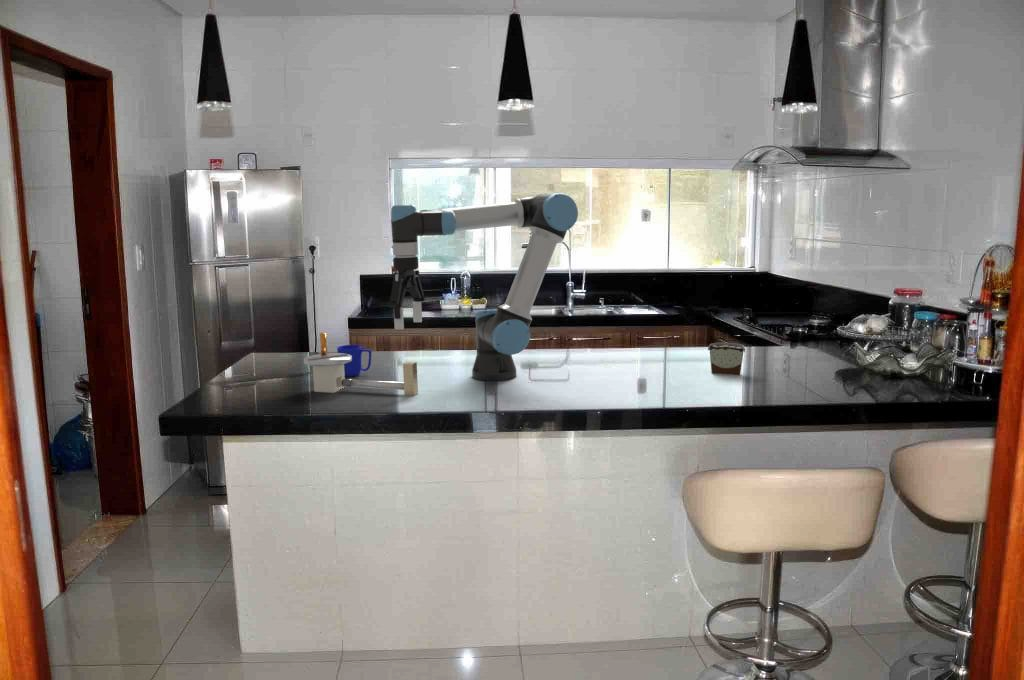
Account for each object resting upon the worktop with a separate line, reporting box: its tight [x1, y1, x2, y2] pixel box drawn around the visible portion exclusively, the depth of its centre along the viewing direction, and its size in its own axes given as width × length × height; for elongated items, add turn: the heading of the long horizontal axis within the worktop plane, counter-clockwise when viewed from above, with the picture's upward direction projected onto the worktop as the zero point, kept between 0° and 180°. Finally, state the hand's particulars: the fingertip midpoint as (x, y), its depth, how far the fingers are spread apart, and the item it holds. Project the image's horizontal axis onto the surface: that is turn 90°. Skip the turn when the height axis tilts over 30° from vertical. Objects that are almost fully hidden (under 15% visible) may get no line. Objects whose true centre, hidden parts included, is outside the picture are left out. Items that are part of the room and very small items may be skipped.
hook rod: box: [342, 361, 419, 397], centre depth 247 cm, size 25×3×10 cm, turn 73°
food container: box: [707, 342, 746, 377], centre depth 264 cm, size 12×6×10 cm, turn 65°
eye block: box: [312, 364, 346, 394], centre depth 252 cm, size 7×7×9 cm
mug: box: [336, 344, 372, 377], centre depth 272 cm, size 8×12×10 cm
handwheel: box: [303, 332, 352, 367], centre depth 250 cm, size 15×15×8 cm
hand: (408, 325), depth 241 cm, fingers open, 13 cm apart
